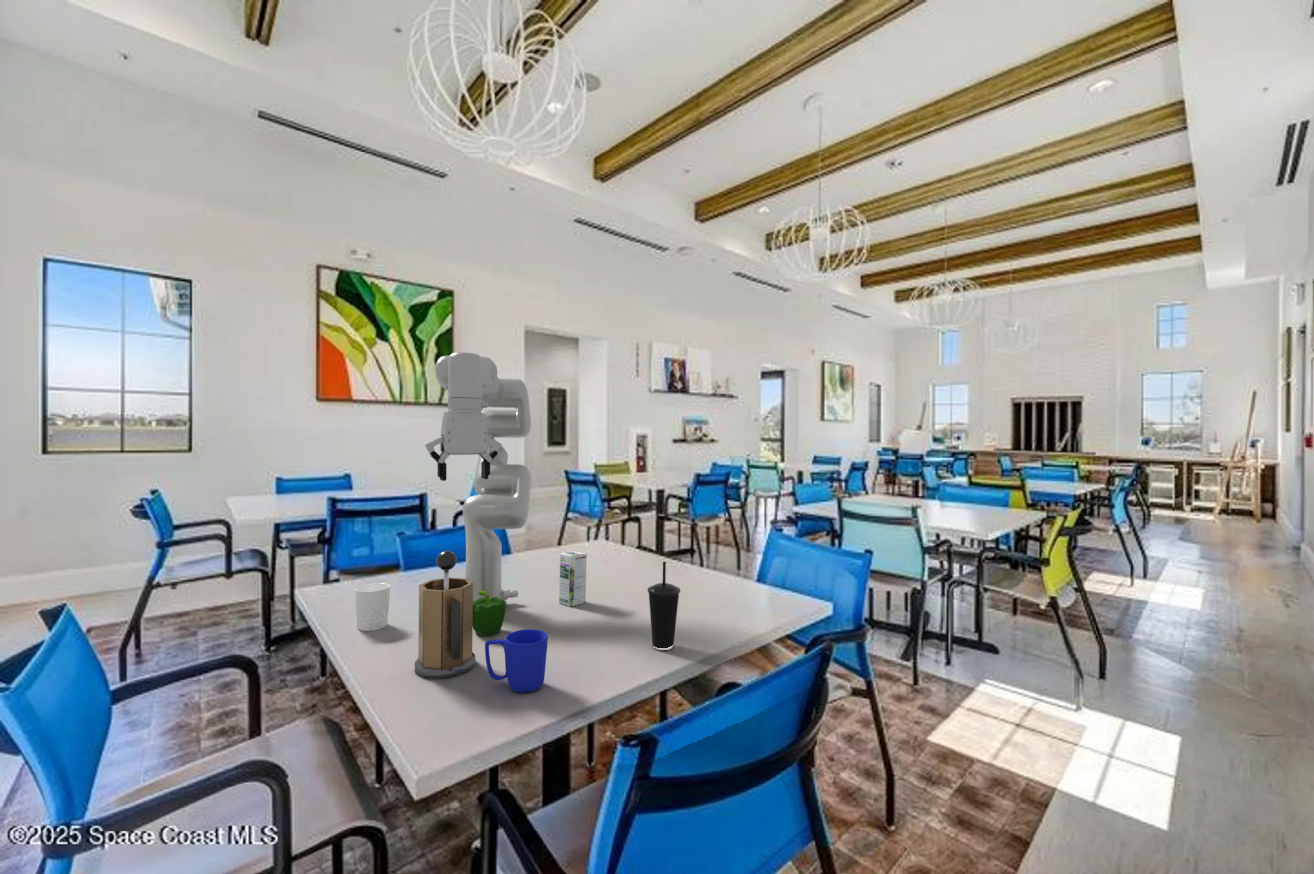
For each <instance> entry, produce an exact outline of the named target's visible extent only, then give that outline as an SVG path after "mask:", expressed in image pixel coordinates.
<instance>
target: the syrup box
mask: <svg viewBox="0 0 1314 874" xmlns="http://www.w3.org/2000/svg"><path fill="white" fill-rule="evenodd" d="M587 556H588V555H587V553H585V552H584V553H582V552H579V551H575V550H569V551H565V552H561V553H559V583H558V585H559V586H558V587H559V588H558V590H559V591H558V604H562V605H564V606H568V607H570V606H573V607H575V605H576V606H578V605H577V604H579V605H582V604H585V603H586V599H587V598H586V597H587V596H586V595H587V594H586V593H587V591H586V590H587ZM584 602H585V603H584ZM581 603H582V604H581Z"/></svg>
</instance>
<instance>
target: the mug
mask: <svg viewBox="0 0 1314 874" xmlns="http://www.w3.org/2000/svg"><path fill="white" fill-rule="evenodd" d="M548 642H549V635H548V633H547V632H546V631H544V630H540V629H534V628H527V629H526V628H525V629H519V630H514V631H512V632H510V633H508V634H507V635H506V636H505V637H504V639H491V640H486V641H485V642H484V653H485V654H484V655H485V662H486V663H485V664H486V669H487V672H488V674H489V676H490V677H491V678H492V679H493V680H495V681H502V680H504V679H506V680H507V685H508V687H509V689H511V690H512V691H513V692H516V693H519V694H520V693H521V694H522V693H523V694H525V693H526V692H527V693H532V692H535V691H537V690H539V689H540V688H541V687H542V686H543V685H544V681H545V675H546V674H545V673H546V664H547V652H548ZM490 645H499V646H502V649H503V650H504V663H505V664H504V665H505V674H504V675H499V674H496V673H495V672H494V670H493V667H492V664H491V658H490V656H491V655H490ZM527 693H526V694H527Z"/></svg>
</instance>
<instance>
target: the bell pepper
mask: <svg viewBox="0 0 1314 874" xmlns="http://www.w3.org/2000/svg"><path fill="white" fill-rule="evenodd" d="M478 593H479V595H484V596H485V599H484V598H479V599H477V600H476V601H473V630H474V632H475V633H477V634H478V635H480V636H492V635H493V636H494V635H495V634H496V633H497V632H499V631H500V630H501V629H502V627H503V624H504V621H505V617H506V612H507V611H506V609H507V606H506V603H505V601H506V600H505V601H504V600H501V599H499V598H497V597H493V598H491V599H490V598H489V595H488V594H487V593H486V592H485V591H480V592H478Z"/></svg>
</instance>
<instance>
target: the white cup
mask: <svg viewBox="0 0 1314 874" xmlns="http://www.w3.org/2000/svg"><path fill="white" fill-rule="evenodd" d="M390 591H391V584H388V583H385V582H374V583H373V582H372V583H366V584H362V585H359V586H357V587H355V588H354V597H355V598H354V599H355V601H354V602H355V603H354V604H355V617H356V629H357V630H358V631H361V632H373V631H378V630H381V629H384V628H386V627H387V625H388V621H389V619H388V618H389V607H390V597H391V596H390V593H391V592H390Z"/></svg>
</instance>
